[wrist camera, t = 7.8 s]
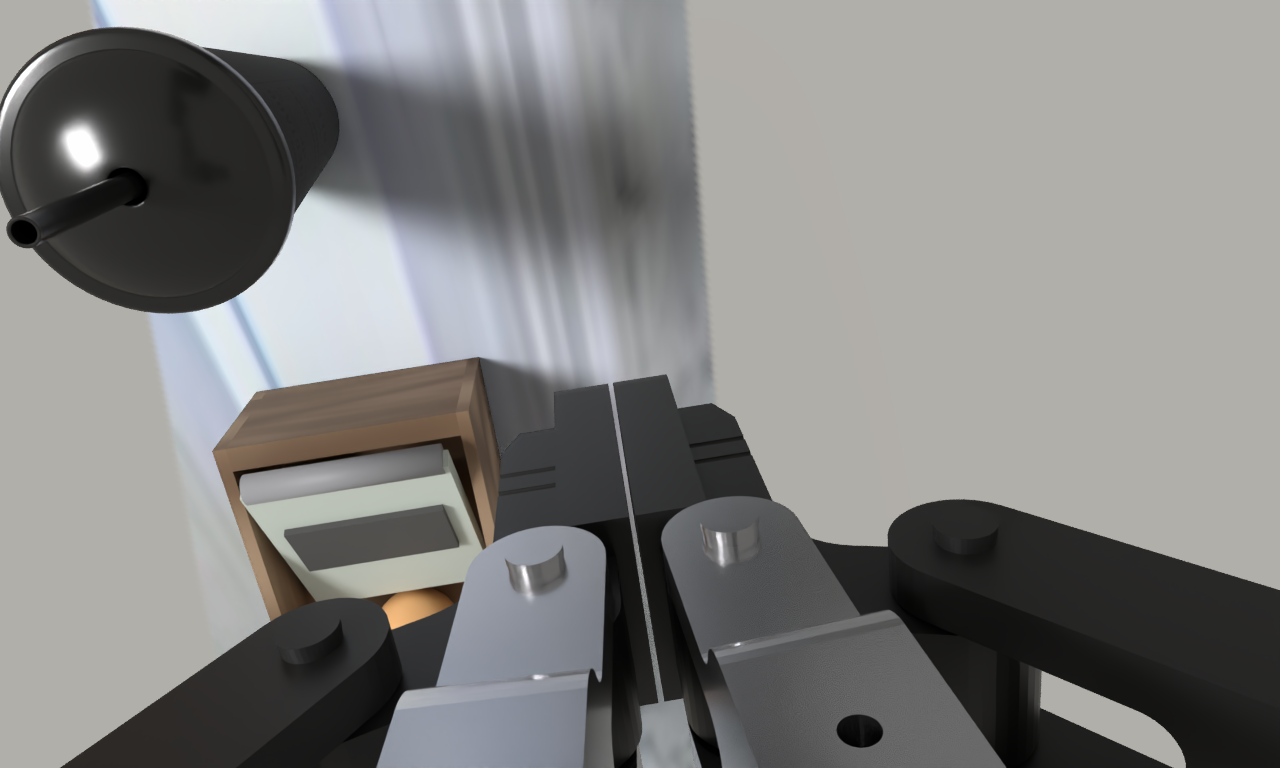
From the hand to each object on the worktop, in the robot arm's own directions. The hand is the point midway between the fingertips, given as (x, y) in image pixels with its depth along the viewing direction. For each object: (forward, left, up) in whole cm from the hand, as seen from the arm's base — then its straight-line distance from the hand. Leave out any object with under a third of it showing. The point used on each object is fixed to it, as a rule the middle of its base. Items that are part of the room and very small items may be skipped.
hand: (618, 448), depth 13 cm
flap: (+6, -16, -25) cm, 30 cm away
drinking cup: (-8, -9, -29) cm, 31 cm away
